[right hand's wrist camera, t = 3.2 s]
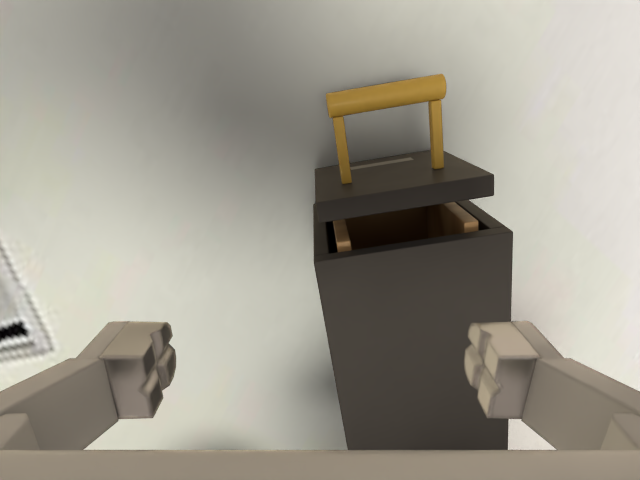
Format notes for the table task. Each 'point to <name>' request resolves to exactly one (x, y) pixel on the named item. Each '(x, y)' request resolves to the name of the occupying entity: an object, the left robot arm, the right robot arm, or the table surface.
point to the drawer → (396, 176)
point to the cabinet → (413, 334)
